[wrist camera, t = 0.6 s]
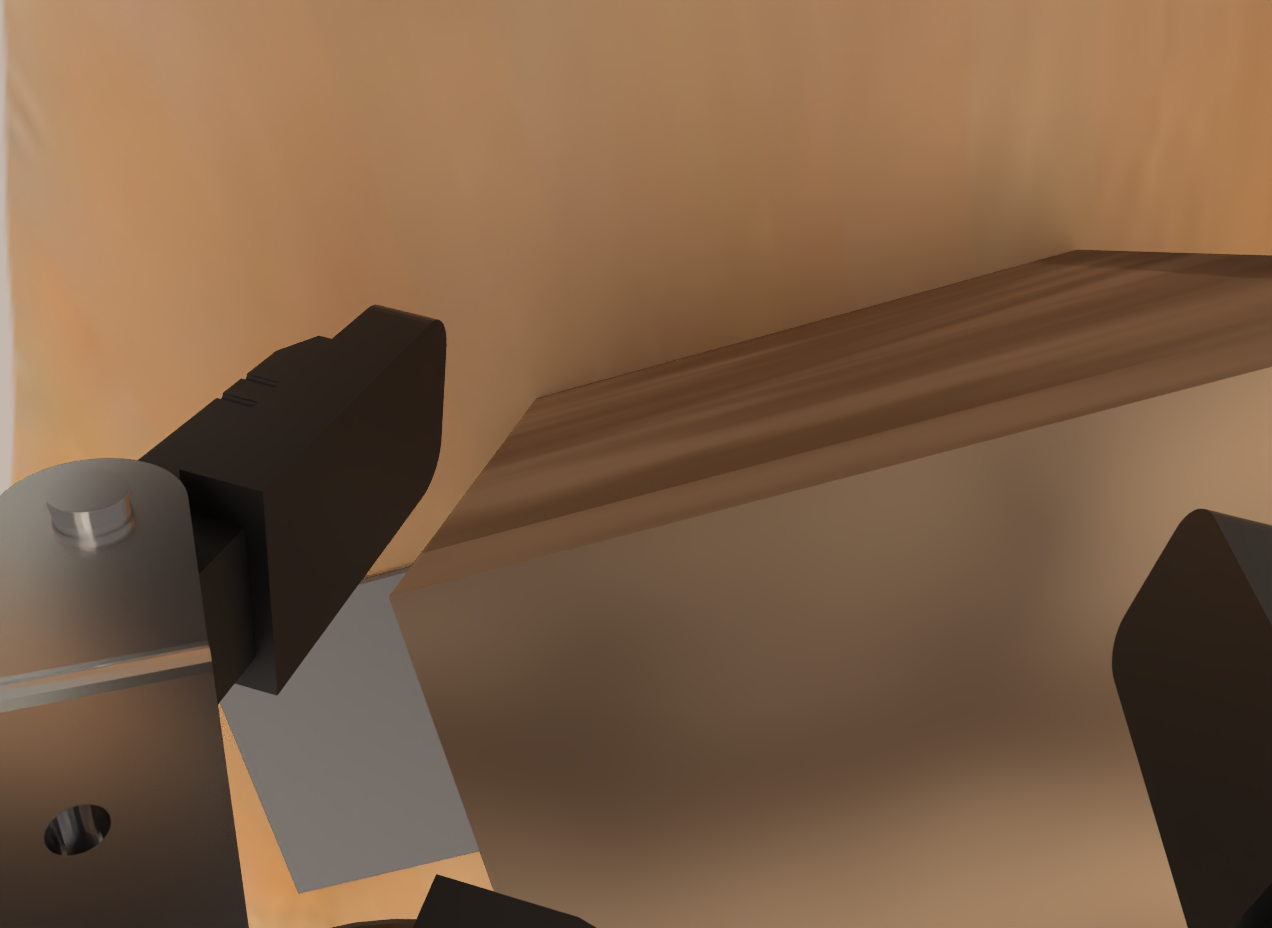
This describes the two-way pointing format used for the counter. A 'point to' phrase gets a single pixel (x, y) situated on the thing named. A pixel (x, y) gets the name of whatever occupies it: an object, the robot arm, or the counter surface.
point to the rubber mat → (351, 753)
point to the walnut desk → (846, 606)
